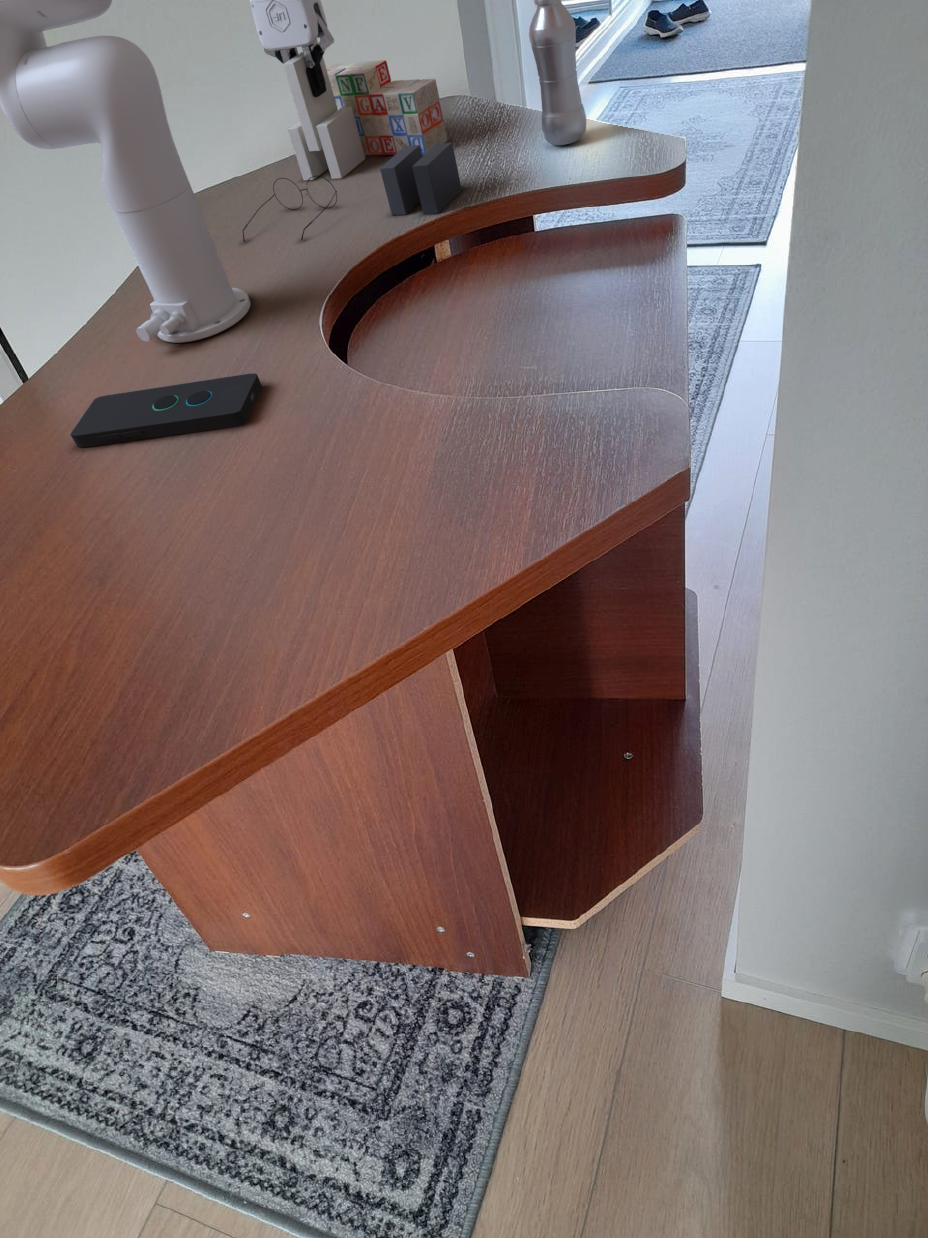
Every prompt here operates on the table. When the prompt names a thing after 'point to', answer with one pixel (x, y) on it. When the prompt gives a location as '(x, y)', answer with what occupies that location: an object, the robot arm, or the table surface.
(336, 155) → the white books
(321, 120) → the white book
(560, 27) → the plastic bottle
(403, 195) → the grey books
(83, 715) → the table surface
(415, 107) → the stack of blocks
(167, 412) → the smart home device
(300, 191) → the eyeglasses
